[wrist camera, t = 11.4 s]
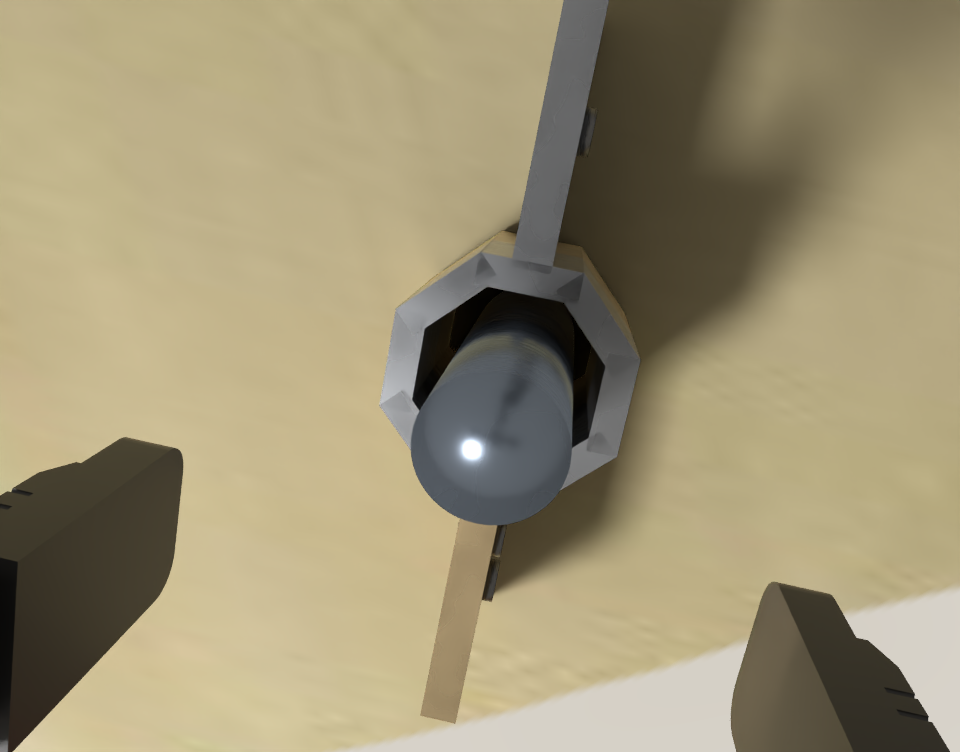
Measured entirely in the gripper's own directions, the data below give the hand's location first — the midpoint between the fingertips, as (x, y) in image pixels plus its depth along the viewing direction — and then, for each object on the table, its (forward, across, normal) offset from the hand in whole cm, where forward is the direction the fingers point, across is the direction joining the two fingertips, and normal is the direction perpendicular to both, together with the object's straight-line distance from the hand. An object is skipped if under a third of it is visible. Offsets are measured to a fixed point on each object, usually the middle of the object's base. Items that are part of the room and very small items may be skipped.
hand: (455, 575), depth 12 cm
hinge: (+18, 0, 0) cm, 18 cm away
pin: (+18, 0, 0) cm, 18 cm away
